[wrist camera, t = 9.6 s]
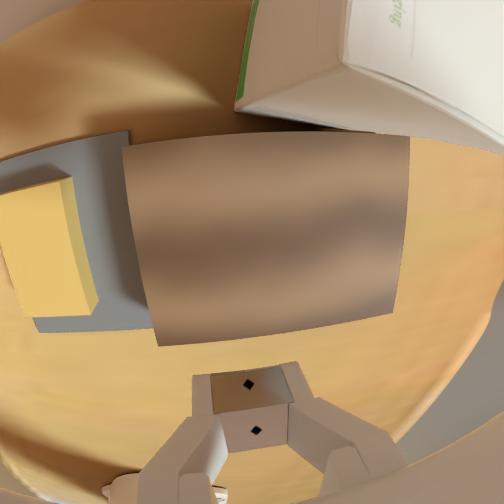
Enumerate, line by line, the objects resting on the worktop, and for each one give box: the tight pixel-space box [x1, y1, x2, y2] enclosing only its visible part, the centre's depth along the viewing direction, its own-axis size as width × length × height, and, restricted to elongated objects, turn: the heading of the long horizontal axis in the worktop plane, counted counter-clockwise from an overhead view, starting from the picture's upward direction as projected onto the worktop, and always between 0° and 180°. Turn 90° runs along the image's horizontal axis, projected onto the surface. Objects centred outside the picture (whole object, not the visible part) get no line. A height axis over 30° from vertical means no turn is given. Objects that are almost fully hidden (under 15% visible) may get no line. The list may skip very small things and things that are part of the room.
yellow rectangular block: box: [0, 177, 99, 317], centre depth 18 cm, size 9×6×2 cm, turn 3°
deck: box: [122, 131, 410, 346], centre depth 19 cm, size 12×16×4 cm
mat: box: [0, 130, 153, 333], centre depth 19 cm, size 14×11×1 cm
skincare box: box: [234, 0, 504, 155], centre depth 10 cm, size 8×7×16 cm
